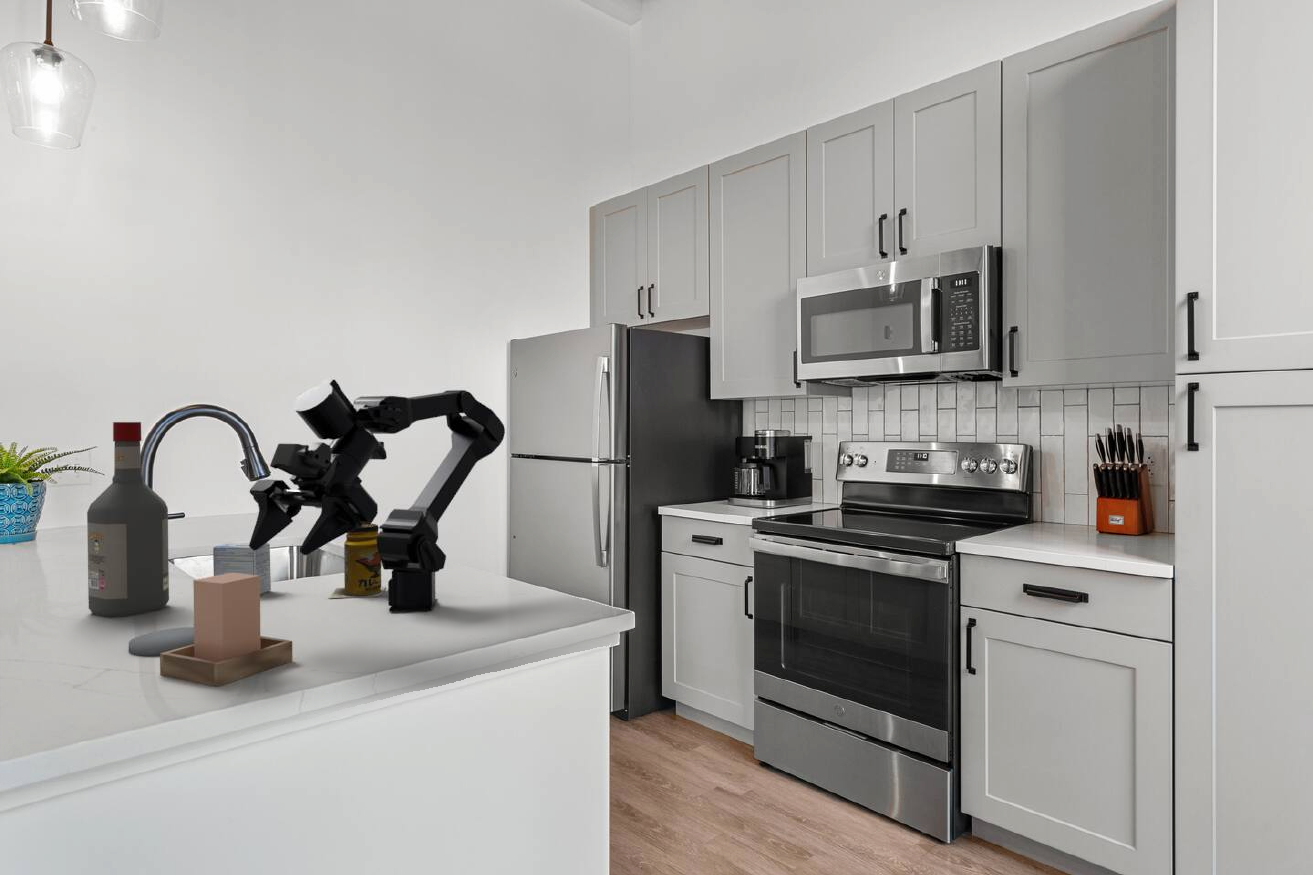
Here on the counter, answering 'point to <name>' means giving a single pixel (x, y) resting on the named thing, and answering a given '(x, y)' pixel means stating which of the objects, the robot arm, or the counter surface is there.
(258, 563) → the grey rectangular block
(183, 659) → the wooden tray
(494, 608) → the counter surface
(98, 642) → the counter surface
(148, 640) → the coaster
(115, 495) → the liquor
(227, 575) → the tan rectangular block
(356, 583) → the condiment
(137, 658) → the counter surface
